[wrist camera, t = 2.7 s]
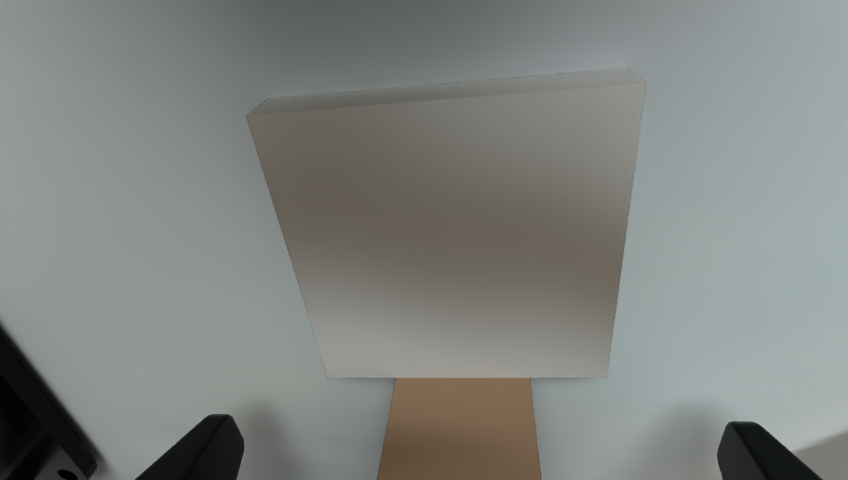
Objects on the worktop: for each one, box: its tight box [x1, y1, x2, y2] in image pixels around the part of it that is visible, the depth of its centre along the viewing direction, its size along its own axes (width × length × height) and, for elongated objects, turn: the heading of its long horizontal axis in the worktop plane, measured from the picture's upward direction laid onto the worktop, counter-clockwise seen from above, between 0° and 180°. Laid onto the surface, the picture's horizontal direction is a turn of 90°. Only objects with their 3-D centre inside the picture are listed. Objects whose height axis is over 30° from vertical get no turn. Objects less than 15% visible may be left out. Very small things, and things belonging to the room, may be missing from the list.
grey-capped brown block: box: [246, 68, 646, 480], centre depth 8 cm, size 10×5×4 cm, turn 6°
